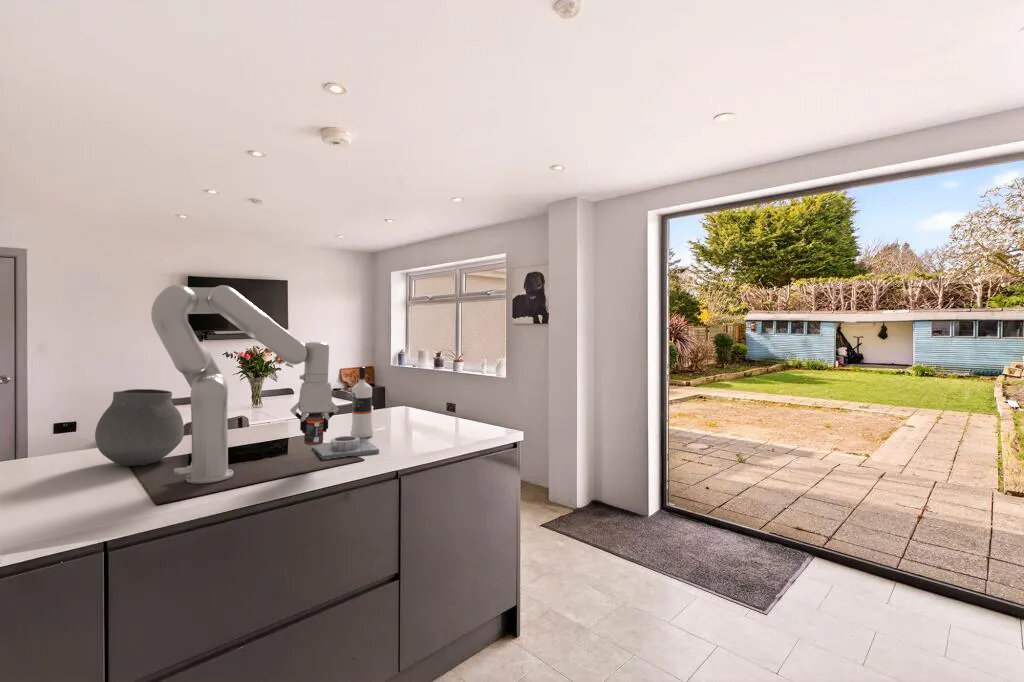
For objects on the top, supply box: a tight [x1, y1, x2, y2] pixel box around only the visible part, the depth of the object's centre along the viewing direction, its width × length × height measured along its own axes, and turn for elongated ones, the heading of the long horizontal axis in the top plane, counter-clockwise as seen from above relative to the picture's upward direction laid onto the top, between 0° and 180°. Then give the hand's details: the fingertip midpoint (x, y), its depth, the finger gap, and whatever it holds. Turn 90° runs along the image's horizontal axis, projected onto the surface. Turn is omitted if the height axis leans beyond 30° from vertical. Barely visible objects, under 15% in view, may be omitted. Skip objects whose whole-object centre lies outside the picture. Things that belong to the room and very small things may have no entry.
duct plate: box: [312, 435, 380, 460], centre depth 190 cm, size 20×20×4 cm
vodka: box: [350, 366, 374, 439], centre depth 215 cm, size 9×9×30 cm
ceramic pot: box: [94, 388, 185, 467], centre depth 170 cm, size 24×24×25 cm
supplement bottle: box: [303, 413, 324, 446], centre depth 169 cm, size 6×6×11 cm
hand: (314, 431), depth 169 cm, fingers closed on supplement bottle, 6 cm apart
